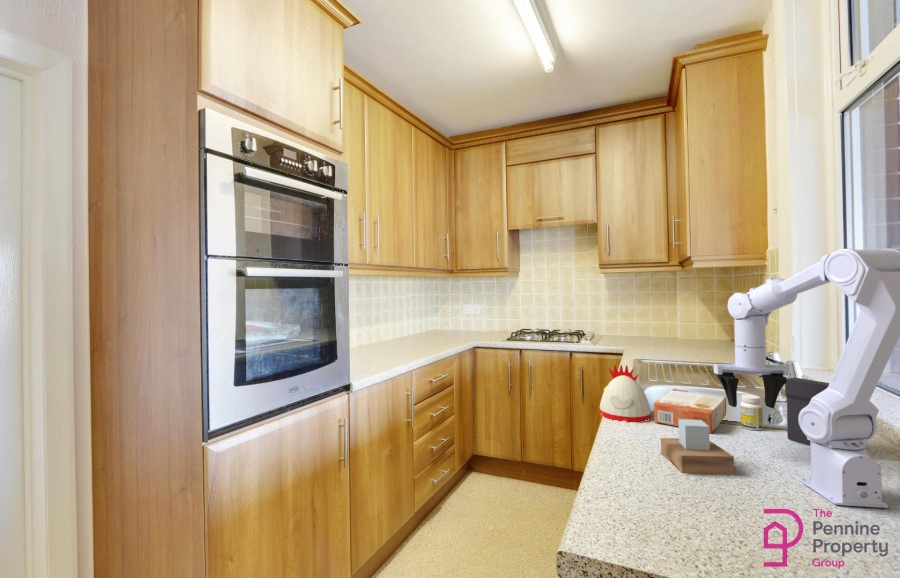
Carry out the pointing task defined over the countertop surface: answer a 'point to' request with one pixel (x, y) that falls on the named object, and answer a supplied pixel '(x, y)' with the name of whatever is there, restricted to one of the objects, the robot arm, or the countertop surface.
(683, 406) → the cracker box
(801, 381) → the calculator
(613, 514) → the countertop surface
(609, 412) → the kitchen timer
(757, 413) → the supplement bottle
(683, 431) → the slate block
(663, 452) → the walnut block
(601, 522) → the countertop surface
